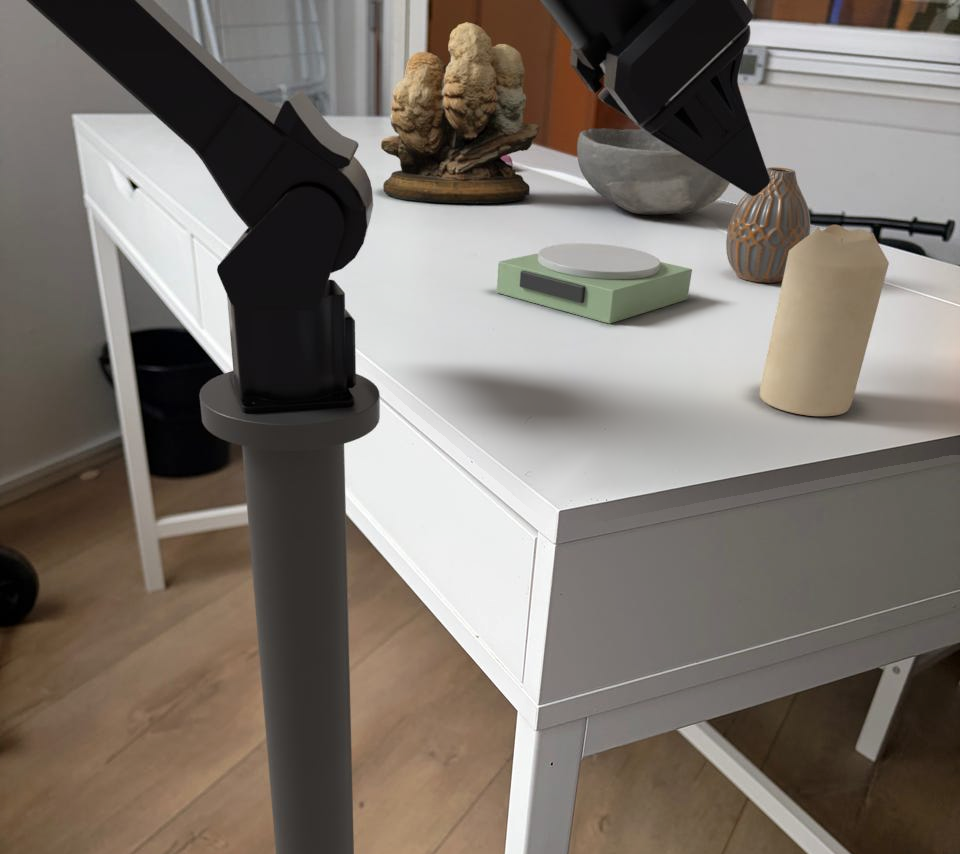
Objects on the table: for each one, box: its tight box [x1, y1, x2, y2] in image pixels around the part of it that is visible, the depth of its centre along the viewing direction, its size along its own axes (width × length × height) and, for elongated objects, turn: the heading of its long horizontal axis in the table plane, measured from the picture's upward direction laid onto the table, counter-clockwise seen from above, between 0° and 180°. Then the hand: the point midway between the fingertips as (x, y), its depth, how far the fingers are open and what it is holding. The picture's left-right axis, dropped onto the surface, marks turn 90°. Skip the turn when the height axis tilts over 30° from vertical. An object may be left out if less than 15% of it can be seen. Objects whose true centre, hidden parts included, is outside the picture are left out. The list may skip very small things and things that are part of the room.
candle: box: [759, 224, 890, 417], centre depth 59 cm, size 6×6×10 cm
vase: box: [725, 166, 811, 284], centre depth 86 cm, size 7×7×9 cm
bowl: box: [576, 127, 731, 216], centre depth 110 cm, size 18×18×8 cm
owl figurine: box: [380, 21, 541, 204], centre depth 111 cm, size 18×12×17 cm, turn 105°
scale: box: [496, 242, 693, 325], centre depth 79 cm, size 11×11×3 cm
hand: (738, 174), depth 54 cm, fingers open, 9 cm apart
